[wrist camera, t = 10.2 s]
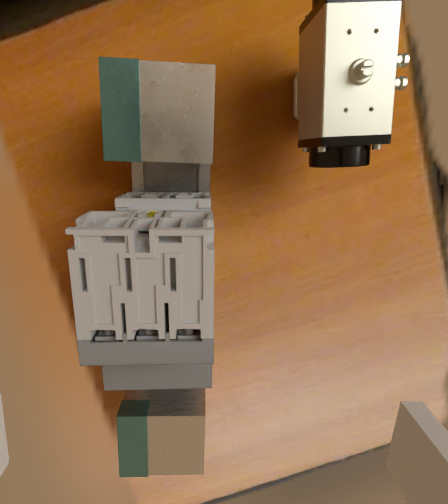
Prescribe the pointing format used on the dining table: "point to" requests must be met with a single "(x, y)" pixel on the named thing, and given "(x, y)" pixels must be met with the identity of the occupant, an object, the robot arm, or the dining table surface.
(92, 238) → the circuit breaker
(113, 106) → the rail with modules
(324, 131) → the pneumatic valve
